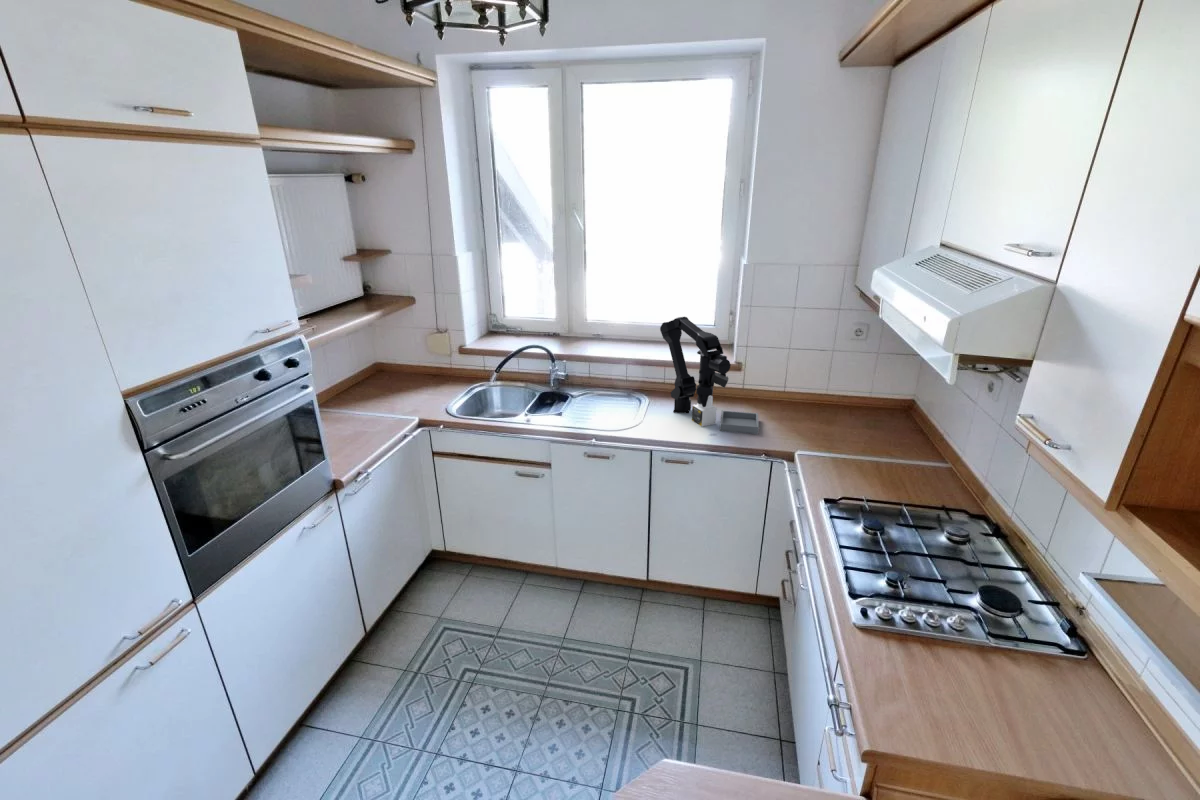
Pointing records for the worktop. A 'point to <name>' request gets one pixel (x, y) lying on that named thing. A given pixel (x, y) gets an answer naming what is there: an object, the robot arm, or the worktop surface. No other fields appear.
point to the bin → (739, 422)
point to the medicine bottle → (704, 413)
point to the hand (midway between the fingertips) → (704, 404)
